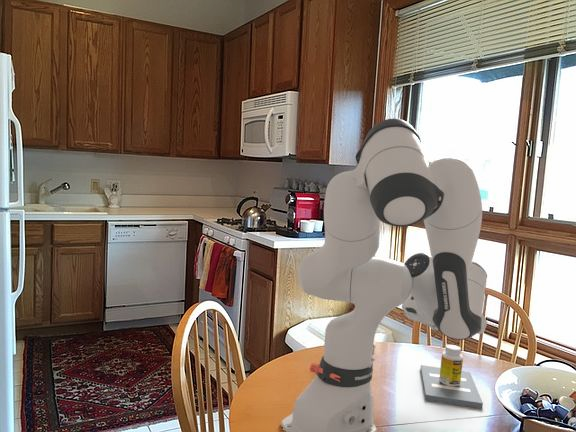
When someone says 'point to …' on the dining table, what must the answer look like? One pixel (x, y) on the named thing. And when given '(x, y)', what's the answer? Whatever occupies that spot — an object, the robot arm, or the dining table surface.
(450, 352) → the supplement bottle
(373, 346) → the pale yellow block
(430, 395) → the gray board
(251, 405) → the dining table surface
